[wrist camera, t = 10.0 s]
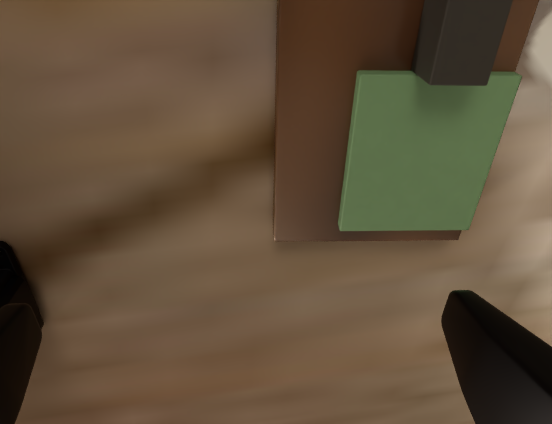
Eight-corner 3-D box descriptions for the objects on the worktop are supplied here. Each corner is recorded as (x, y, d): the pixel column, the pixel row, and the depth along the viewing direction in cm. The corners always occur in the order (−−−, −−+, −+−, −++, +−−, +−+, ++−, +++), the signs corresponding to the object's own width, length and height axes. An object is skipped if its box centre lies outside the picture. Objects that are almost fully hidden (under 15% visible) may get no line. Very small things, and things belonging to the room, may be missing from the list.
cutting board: (273, 224, 21) (273, 242, 19) (285, -472, 10) (290, -534, 8) (446, 222, 21) (458, 240, 20) (653, -447, 10) (710, -502, 9)
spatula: (463, 223, 19) (483, 250, 17) (337, 224, 19) (345, 251, 17) (657, -356, 10) (740, -417, 8) (411, -370, 9) (444, -435, 8)
